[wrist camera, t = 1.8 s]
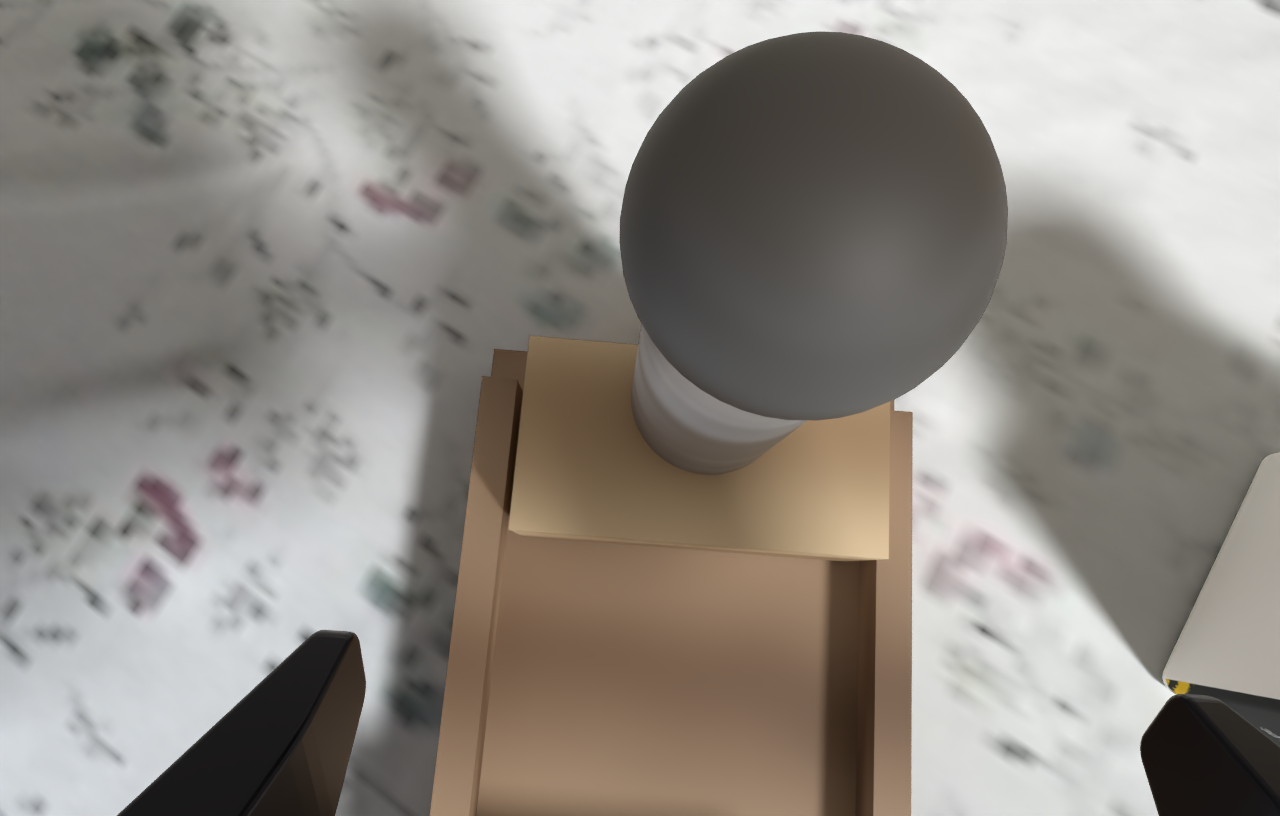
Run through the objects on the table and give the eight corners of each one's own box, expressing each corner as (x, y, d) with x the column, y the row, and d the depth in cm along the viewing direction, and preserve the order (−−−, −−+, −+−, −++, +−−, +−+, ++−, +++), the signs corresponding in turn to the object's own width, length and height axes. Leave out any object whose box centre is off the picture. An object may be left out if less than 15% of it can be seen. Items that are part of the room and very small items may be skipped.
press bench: (864, 1081, 18) (975, 1296, 13) (422, 1055, 18) (343, 1264, 12) (874, 396, 21) (965, 335, 16) (501, 364, 21) (467, 292, 16)
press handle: (844, 561, 19) (1344, 533, 6) (523, 536, 19) (351, 453, 6) (848, 358, 20) (1283, -26, 7) (544, 332, 20) (437, -110, 7)
